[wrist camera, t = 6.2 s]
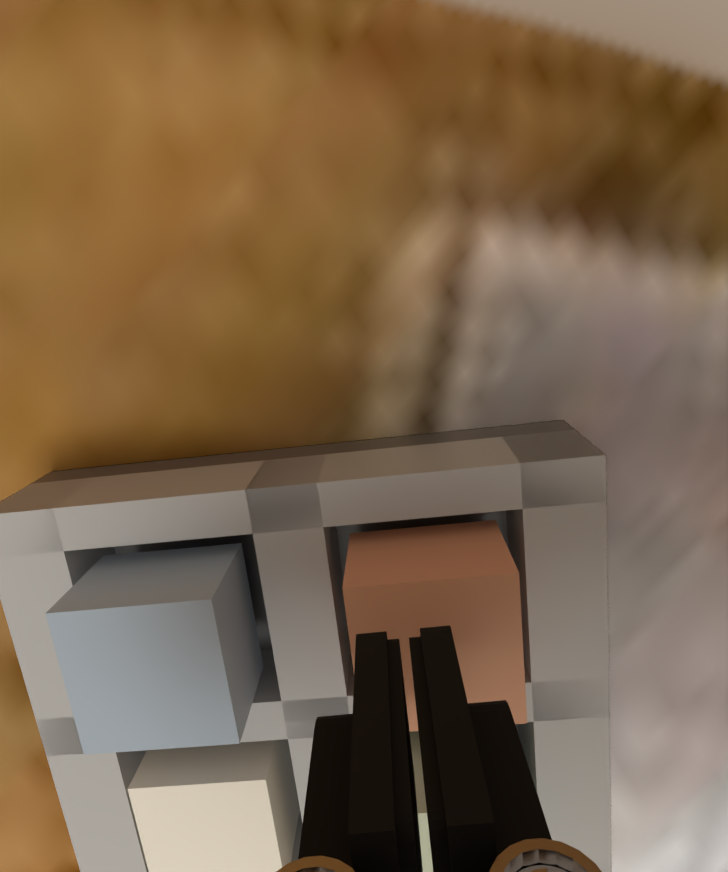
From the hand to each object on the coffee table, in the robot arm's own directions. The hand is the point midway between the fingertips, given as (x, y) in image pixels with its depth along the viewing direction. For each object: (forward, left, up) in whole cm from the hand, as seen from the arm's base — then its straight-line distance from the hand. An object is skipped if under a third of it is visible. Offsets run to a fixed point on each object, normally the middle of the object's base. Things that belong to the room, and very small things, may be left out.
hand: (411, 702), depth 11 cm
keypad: (+2, +3, -7) cm, 8 cm away
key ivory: (+5, +6, -5) cm, 9 cm away
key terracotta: (-1, 0, -4) cm, 4 cm away
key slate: (+5, 0, -4) cm, 7 cm away
